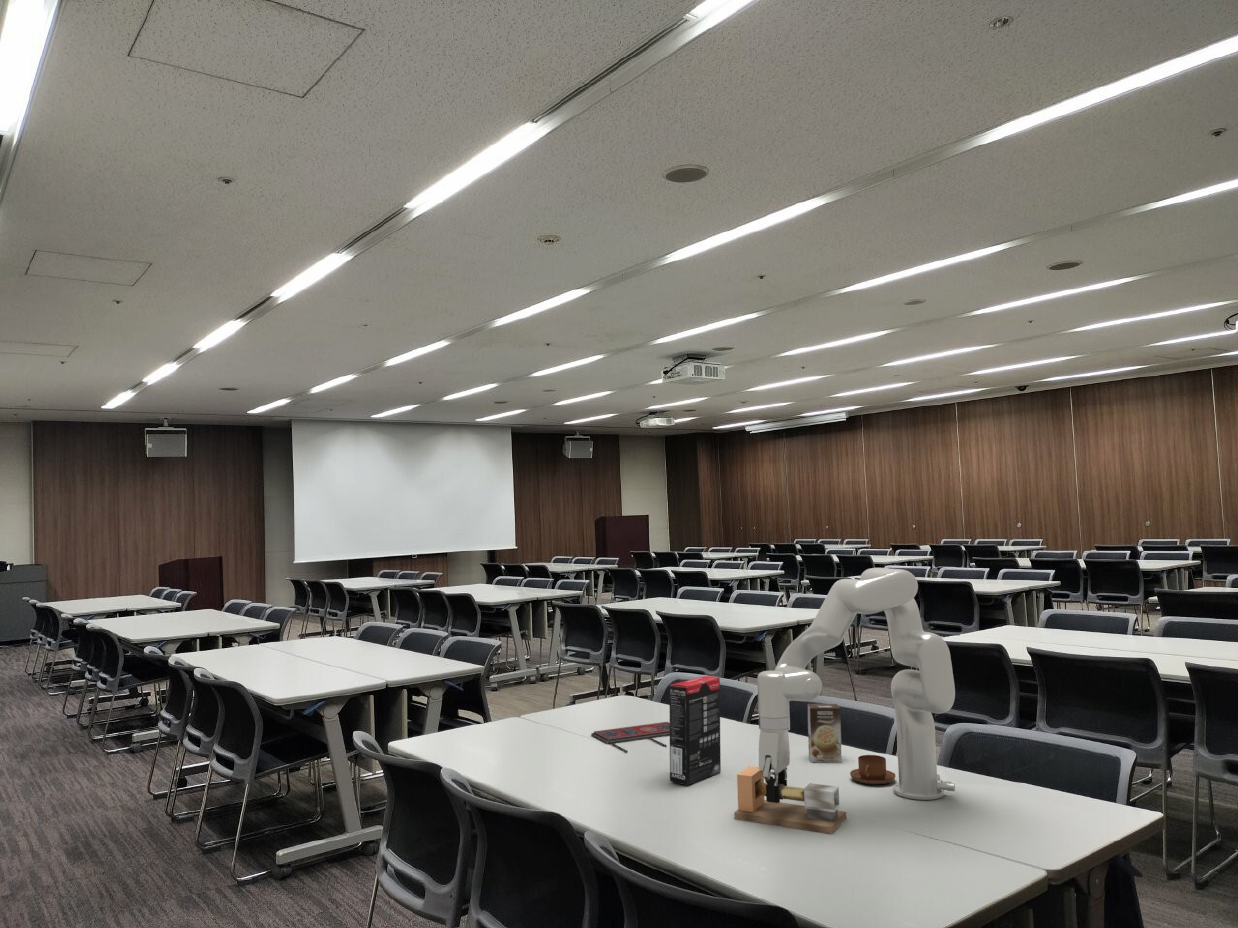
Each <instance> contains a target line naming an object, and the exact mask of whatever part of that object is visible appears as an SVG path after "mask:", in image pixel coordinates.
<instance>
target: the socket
mask: <svg viewBox="0 0 1238 928" xmlns="http://www.w3.org/2000/svg"><path fill="white" fill-rule="evenodd" d="M763 773H764V771H763V772H760V771H759V766H758V767H757V766H751V765H750V766H747V767H746V768H744V769H743V770H742V771H740V772H739V773H737V774H736V783H737V785H736V786H737V810H742V811H748V812H754V811H755V810H756V809H757V808H759V807H760V806H761V805H762V804H764V803H765V801H764V800H765V796H760V795H755V782H760V783H765V778H764V777H763Z"/></svg>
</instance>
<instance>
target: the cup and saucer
mask: <svg viewBox="0 0 1238 928" xmlns="http://www.w3.org/2000/svg"><path fill="white" fill-rule="evenodd" d="M857 760H858V762H857V763H858V768H855V769H853V770H851V771H850V772H849V774H850V777H851V778H852V779H854V780H855V781H856V782H859V783H863V784H868V785H884V784H888V783H891V782H893V781H894V780H895V779H896V774H895V772H892V771H890V770H887V759H886V757H884V756H881V755H876V754H864V755H860V756H858V757H857Z"/></svg>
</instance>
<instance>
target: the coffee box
mask: <svg viewBox="0 0 1238 928" xmlns="http://www.w3.org/2000/svg"><path fill="white" fill-rule="evenodd" d="M807 730H808V731H807V736H808V738H807V739H808V742H807V743H808V758H809V760H810V762H811V763H839V764H840V763H842V762H843V759H842V757H843V756H842V731H841V730H842V728H841V706H840V705H839V704H837V703H807Z"/></svg>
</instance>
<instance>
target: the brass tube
mask: <svg viewBox="0 0 1238 928" xmlns="http://www.w3.org/2000/svg"><path fill="white" fill-rule="evenodd" d="M778 786H779V793H780V800H782V801H783V800H789V801H796V802H804V803H805V799H804V788H805V787H796V786H789V785H787V786H784V785H783V784H778ZM755 795H760V796H764V797H766V785H765V782H764V783H760V782H755Z"/></svg>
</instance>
